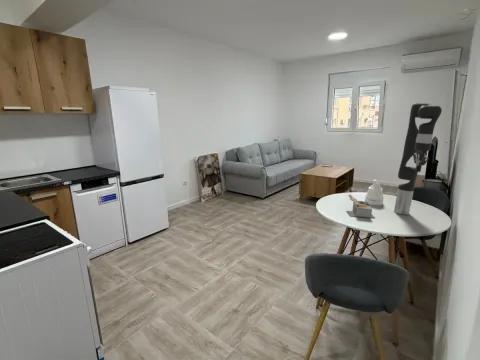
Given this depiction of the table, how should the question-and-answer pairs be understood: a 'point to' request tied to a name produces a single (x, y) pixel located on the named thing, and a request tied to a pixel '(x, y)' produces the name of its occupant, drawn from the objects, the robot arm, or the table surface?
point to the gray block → (352, 214)
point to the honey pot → (374, 194)
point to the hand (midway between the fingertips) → (417, 171)
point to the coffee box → (362, 209)
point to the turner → (352, 198)
